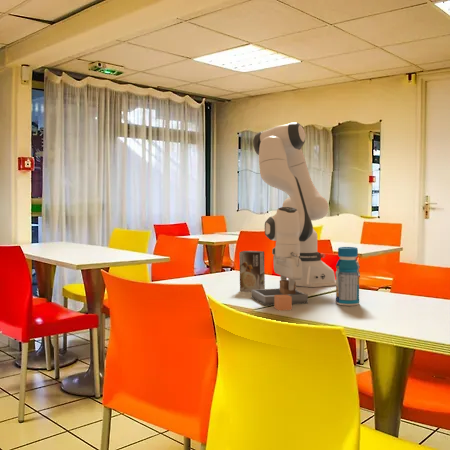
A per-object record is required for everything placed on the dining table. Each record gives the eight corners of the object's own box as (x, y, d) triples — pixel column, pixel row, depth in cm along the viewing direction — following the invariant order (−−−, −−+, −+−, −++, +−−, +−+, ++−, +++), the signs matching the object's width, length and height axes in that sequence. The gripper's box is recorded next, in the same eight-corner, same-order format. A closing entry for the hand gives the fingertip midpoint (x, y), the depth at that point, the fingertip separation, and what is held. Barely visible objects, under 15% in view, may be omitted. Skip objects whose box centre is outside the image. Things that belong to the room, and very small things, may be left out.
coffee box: (265, 290, 221) (265, 251, 220) (260, 292, 215) (260, 252, 214) (244, 288, 224) (244, 250, 224) (239, 291, 218) (238, 251, 218)
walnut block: (291, 291, 202) (291, 279, 202) (295, 293, 197) (295, 281, 197) (279, 292, 201) (279, 280, 200) (283, 294, 196) (284, 282, 196)
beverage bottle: (346, 307, 185) (346, 249, 184) (330, 302, 193) (330, 247, 192) (364, 304, 189) (365, 247, 188) (348, 300, 197) (349, 246, 196)
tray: (291, 295, 208) (291, 287, 208) (307, 303, 192) (307, 294, 192) (251, 297, 204) (251, 289, 204) (265, 305, 188) (265, 297, 188)
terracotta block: (286, 307, 185) (286, 294, 185) (291, 310, 181) (291, 296, 181) (274, 308, 184) (274, 295, 184) (279, 310, 180) (279, 297, 180)
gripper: (306, 253, 189) (306, 293, 190) (286, 248, 209) (285, 284, 209) (290, 254, 187) (289, 293, 188) (270, 249, 207) (270, 285, 208)
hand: (287, 288), depth 199 cm, fingers closed on walnut block, 4 cm apart
